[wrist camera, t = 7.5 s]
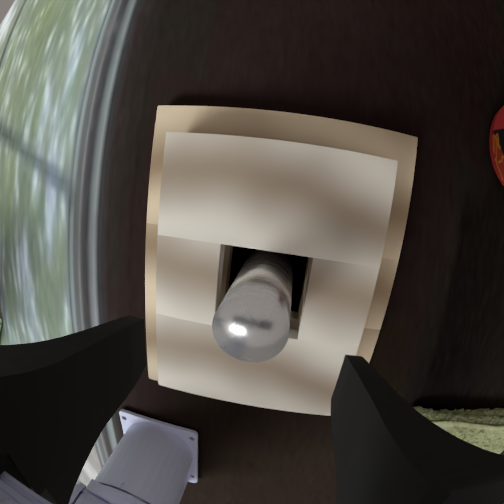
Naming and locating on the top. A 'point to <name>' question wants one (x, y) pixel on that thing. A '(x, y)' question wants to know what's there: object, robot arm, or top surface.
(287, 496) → the top surface
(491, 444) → the washcloth
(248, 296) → the tube
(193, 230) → the collar stand
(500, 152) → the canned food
